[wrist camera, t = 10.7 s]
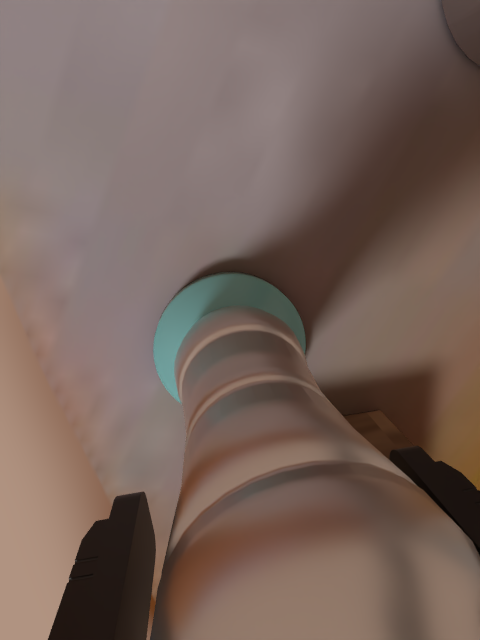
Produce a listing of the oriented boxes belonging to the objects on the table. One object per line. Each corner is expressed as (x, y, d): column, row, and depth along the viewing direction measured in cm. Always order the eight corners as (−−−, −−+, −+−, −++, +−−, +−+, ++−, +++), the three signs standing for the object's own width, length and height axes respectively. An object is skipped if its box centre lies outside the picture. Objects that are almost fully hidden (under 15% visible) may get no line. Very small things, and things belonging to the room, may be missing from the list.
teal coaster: (143, 281, 20) (140, 285, 19) (296, 263, 21) (302, 266, 20) (168, 417, 23) (167, 428, 22) (303, 396, 24) (308, 406, 22)
